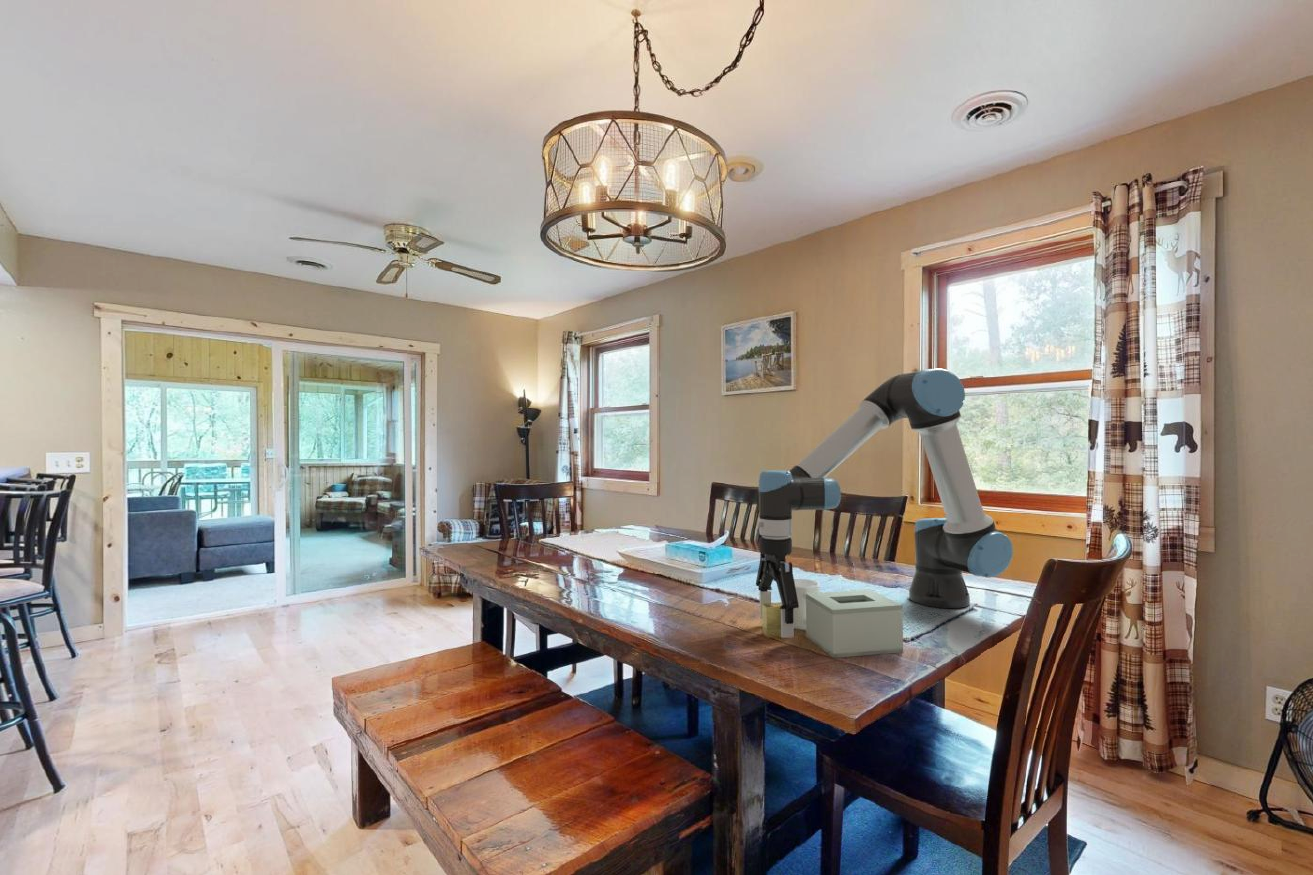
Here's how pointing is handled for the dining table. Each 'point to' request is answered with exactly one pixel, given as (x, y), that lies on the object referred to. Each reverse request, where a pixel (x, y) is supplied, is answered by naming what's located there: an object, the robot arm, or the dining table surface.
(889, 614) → the box
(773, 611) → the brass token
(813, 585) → the mug
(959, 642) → the dining table surface
